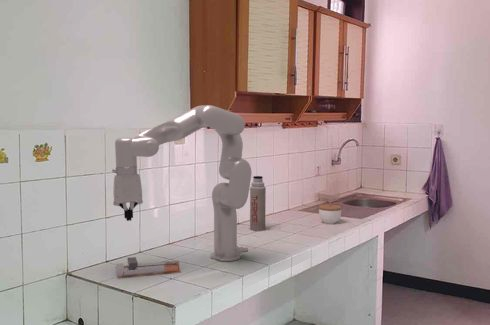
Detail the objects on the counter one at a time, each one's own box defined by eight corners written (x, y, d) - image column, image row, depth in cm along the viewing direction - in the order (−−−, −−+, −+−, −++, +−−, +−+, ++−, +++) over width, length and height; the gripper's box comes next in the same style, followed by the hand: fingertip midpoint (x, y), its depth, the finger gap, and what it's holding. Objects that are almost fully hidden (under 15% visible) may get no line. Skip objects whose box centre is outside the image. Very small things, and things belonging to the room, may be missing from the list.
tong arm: (178, 266, 193) (177, 260, 193) (179, 268, 190) (179, 262, 190) (127, 270, 188) (127, 264, 188) (128, 272, 185) (128, 267, 185)
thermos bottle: (257, 231, 256) (258, 177, 253) (246, 229, 262) (247, 176, 259) (268, 229, 262) (268, 176, 259) (257, 226, 267) (257, 175, 265)
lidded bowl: (314, 221, 282) (314, 202, 281) (332, 219, 287) (332, 200, 286) (326, 225, 271) (327, 205, 269) (345, 223, 276) (346, 204, 275)
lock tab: (135, 261, 189) (135, 257, 189) (137, 267, 182) (137, 262, 182) (127, 262, 188) (127, 257, 188) (129, 267, 181) (129, 263, 181)
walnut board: (174, 264, 200) (174, 261, 200) (181, 275, 186) (181, 272, 186) (115, 269, 193) (115, 266, 193) (118, 281, 179) (117, 278, 179)
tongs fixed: (174, 266, 194) (174, 258, 194) (178, 271, 187) (178, 263, 187) (116, 271, 187) (116, 263, 187) (117, 277, 181) (117, 269, 180)
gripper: (106, 173, 179) (108, 224, 180) (148, 171, 183) (150, 220, 185) (105, 171, 186) (107, 219, 188) (145, 169, 190) (147, 216, 192)
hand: (128, 219), depth 186 cm, fingers closed
